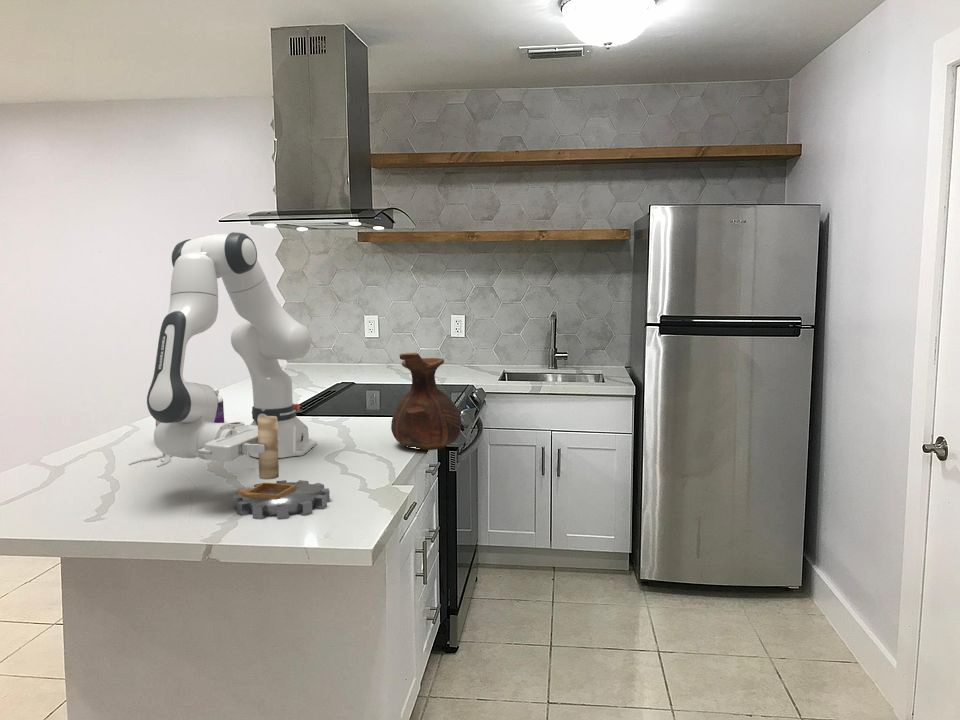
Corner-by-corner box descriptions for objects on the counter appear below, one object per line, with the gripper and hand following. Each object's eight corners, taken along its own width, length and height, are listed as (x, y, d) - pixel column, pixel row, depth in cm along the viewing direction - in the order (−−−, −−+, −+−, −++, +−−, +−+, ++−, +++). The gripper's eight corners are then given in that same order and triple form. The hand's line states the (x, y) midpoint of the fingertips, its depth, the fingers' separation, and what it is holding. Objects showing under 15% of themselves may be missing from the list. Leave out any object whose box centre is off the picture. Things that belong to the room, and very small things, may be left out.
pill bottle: (224, 429, 260) (223, 387, 258) (224, 434, 252) (222, 390, 250) (199, 431, 257) (197, 388, 255) (198, 436, 250) (196, 392, 248)
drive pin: (265, 473, 183) (263, 415, 182) (282, 475, 182) (280, 416, 180) (255, 478, 179) (253, 419, 177) (272, 480, 178) (271, 420, 176)
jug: (379, 443, 241) (377, 347, 237) (441, 435, 251) (441, 343, 247) (408, 458, 222) (406, 354, 218) (474, 449, 232) (474, 350, 229)
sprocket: (265, 487, 194) (264, 474, 194) (344, 493, 188) (344, 480, 188) (214, 514, 173) (213, 499, 173) (302, 522, 168) (301, 507, 167)
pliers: (127, 460, 215) (161, 447, 229) (128, 466, 215) (162, 453, 229) (158, 462, 212) (191, 449, 227) (159, 468, 213) (191, 455, 227)
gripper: (191, 438, 173) (246, 442, 169) (242, 420, 192) (292, 423, 189) (192, 465, 173) (247, 470, 170) (243, 445, 193) (293, 449, 189)
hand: (271, 445), depth 179 cm, fingers closed on drive pin, 4 cm apart
